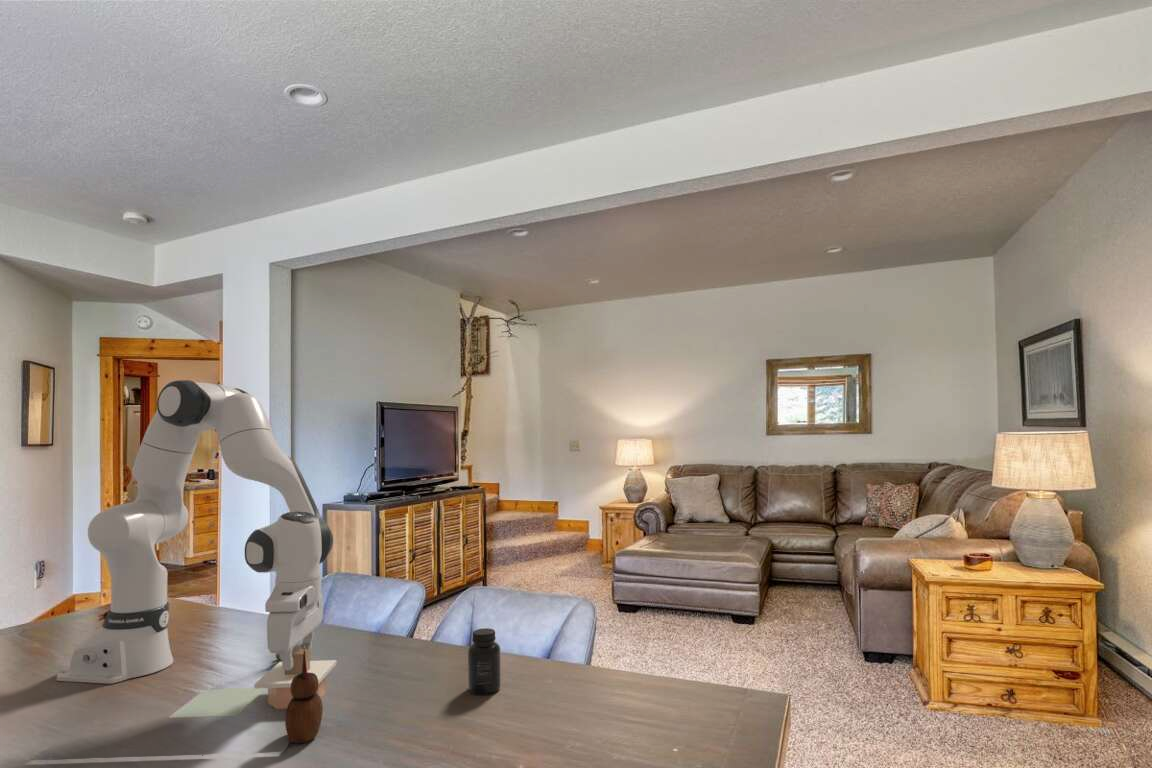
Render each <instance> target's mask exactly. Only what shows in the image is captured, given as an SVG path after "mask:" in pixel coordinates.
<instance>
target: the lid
mask: <svg viewBox="0 0 1152 768" xmlns="http://www.w3.org/2000/svg"><path fill="white" fill-rule="evenodd" d="M304 650H305V656H306V669H307V673H308V672H309V673H314V674H315V675H316V676H317V678H318V684H319V683H320V682H321V681H322V680H323V679H324V678H325V676H326V677H327V675H328V674H329V673H330V672H331V671H332V670H333V669H334V667H336V665H337V664H338V661H337V659H334V660H333V659H332V660H331V659H329V660H311V651H310V649H293V652H292V658H294V666H293V668H292V669H290V670H283V669H282V661H279V662H278V663H276V665H275V666H274V667H272V668H271V669H270V670H268V672H266V673H265V674H264V675H263V676H261V678H260V679H259V680H257V681H256V682H255V683H254V685H253V688H266V689H268V688H287V687H291V683H292V680H293V678H294V677H295V676H297V675H299V674H301V673H302V665H303V653H304ZM325 679H326V678H325Z"/></svg>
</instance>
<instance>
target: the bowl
mask: <svg viewBox="0 0 1152 768" xmlns="http://www.w3.org/2000/svg"><path fill="white" fill-rule="evenodd" d="M326 677H327V675H326V676H325V678H324V679H323V680H322V681H321V682H320V683H319V684H318V689H317V692H316V693H317V694H318V695H319V696H320V698H321V699H322V698H323V696H324V695H325V694H326V679H327V678H326ZM292 698H293V696H292V694H291V687H287V688H267V704H269V705H270V706H271V707H273V708H275V709H276V710H283V709H284V710H287V706H288V704H289V702H290V701H291V699H292Z"/></svg>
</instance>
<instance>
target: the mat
mask: <svg viewBox="0 0 1152 768" xmlns="http://www.w3.org/2000/svg"><path fill="white" fill-rule="evenodd" d="M266 689H267V688H254V687H252V688H248V687H247V688H225V689H224V688H223V689H222V688H221V689H220V688H219V689H217V688H216V689H215V688H213V689H203V690H202V691H201V692H200V693H198V694H197V695H196V696H194V697H193V698H191V699H190V700H189V701H188V702H186V703H185V704H184V705H183V706H181V707H180V708H179V709H177V710H176V711H175V712H173V713H172V714H171V715H169V716H168V719H174V718H175V719H177V718H178V719H179V718H208V717H209V718H210V717H213V718H214V717H234V716H235V717H237V716H239V715H240V714H241V713H242V712H243V711H244V710H245V709H246V708H247V707H249V705H250V704H251V703H253V702H254V701H255V700H256V699H257V698H258V697H259V696H260V695H262V693H263V692H264V691H265V690H266Z"/></svg>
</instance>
